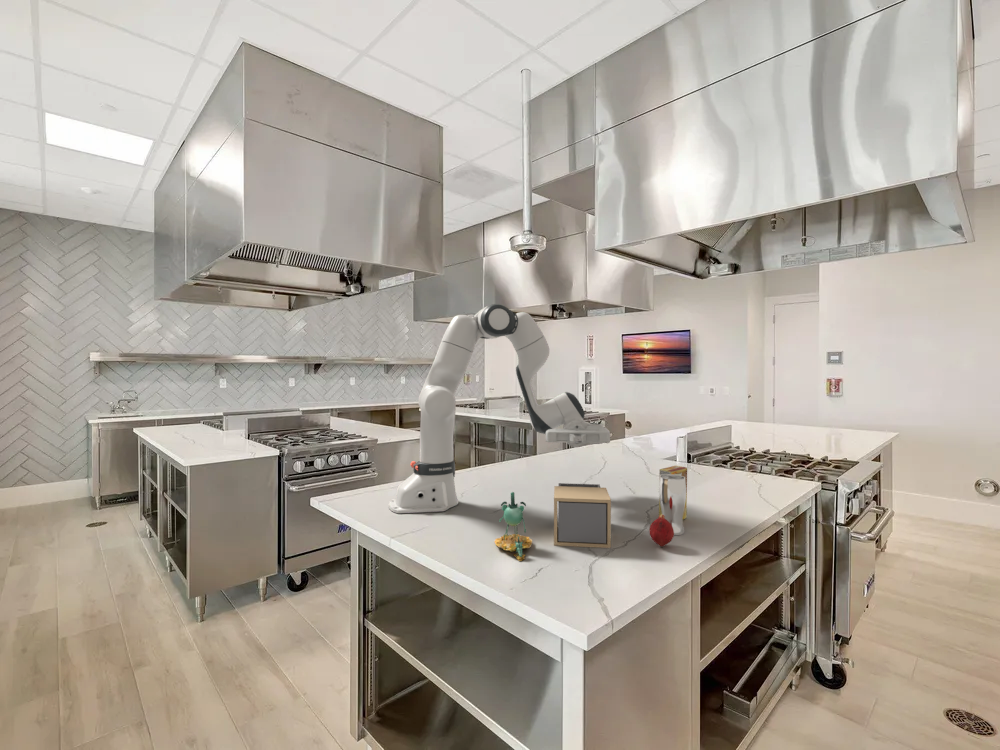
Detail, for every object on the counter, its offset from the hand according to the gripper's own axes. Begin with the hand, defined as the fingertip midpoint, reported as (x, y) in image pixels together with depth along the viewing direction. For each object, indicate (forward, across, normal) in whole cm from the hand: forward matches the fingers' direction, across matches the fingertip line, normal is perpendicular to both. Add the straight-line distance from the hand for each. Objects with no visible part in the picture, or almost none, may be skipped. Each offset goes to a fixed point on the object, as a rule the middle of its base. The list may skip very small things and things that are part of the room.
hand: (578, 439), depth 143 cm
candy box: (+2, +27, +23) cm, 36 cm away
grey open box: (+16, 0, +22) cm, 27 cm away
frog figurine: (+28, -18, +23) cm, 41 cm away
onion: (+24, +19, +23) cm, 38 cm away
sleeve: (+20, 0, +23) cm, 30 cm away
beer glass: (+12, +25, +23) cm, 36 cm away
